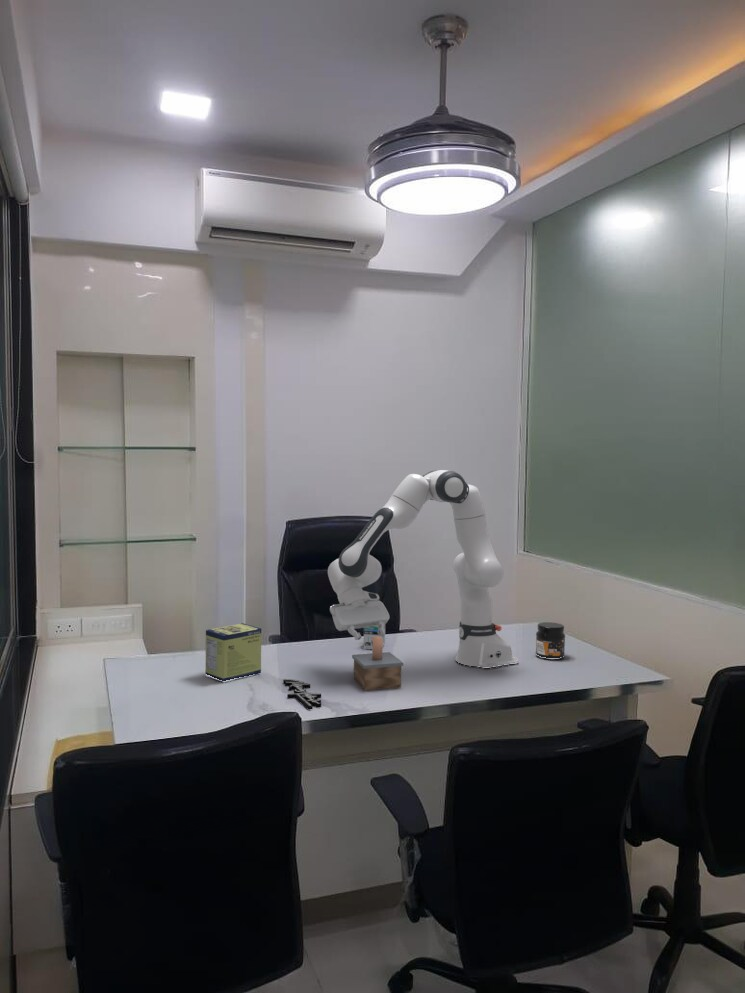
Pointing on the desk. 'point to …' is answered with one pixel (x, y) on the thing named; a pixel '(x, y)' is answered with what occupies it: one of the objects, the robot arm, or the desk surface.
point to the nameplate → (302, 693)
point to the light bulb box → (371, 636)
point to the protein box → (233, 651)
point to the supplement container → (550, 640)
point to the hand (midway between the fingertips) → (370, 637)
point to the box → (377, 677)
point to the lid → (377, 656)
